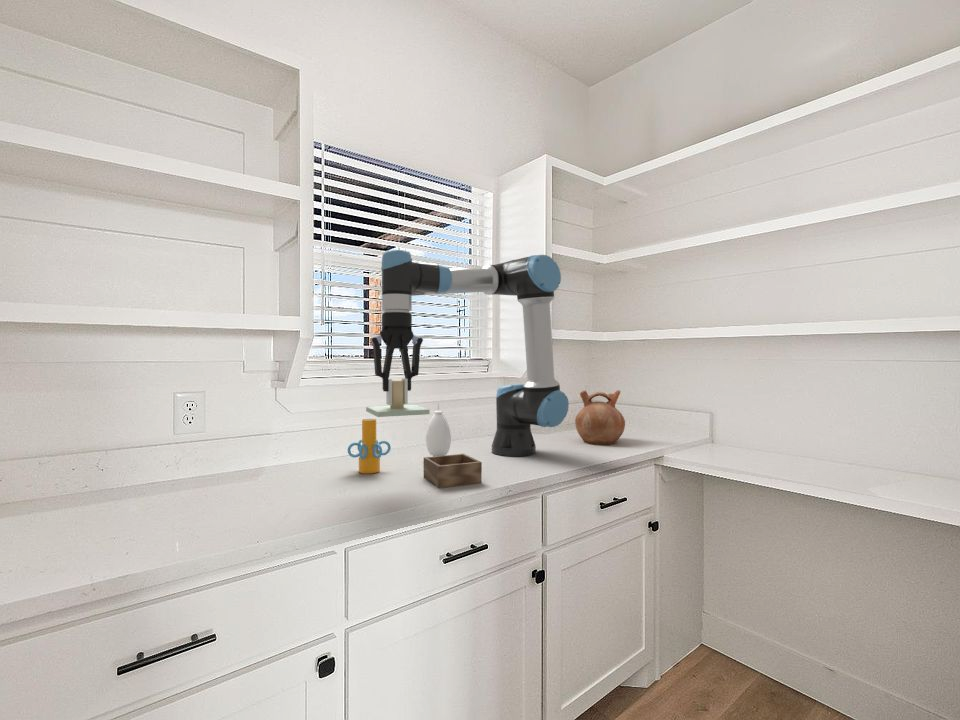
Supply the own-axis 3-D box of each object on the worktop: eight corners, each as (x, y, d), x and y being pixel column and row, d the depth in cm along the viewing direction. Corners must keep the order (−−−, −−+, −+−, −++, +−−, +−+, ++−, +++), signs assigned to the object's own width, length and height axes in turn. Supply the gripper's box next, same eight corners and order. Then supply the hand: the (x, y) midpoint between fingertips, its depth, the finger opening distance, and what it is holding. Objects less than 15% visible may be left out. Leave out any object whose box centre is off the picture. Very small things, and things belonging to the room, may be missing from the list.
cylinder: (378, 477, 138) (377, 423, 138) (342, 475, 140) (342, 422, 140) (394, 467, 150) (394, 417, 150) (361, 466, 152) (361, 416, 152)
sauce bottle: (441, 462, 157) (441, 404, 157) (421, 459, 161) (421, 403, 161) (455, 457, 164) (455, 402, 164) (435, 455, 168) (435, 401, 167)
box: (463, 472, 143) (463, 453, 143) (481, 482, 132) (481, 462, 132) (423, 477, 138) (423, 457, 138) (438, 488, 127) (438, 466, 127)
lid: (413, 408, 137) (413, 378, 137) (429, 414, 126) (429, 381, 125) (366, 411, 132) (366, 379, 132) (377, 417, 120) (377, 382, 120)
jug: (623, 439, 199) (623, 388, 198) (626, 447, 181) (626, 392, 181) (576, 437, 203) (576, 387, 202) (574, 445, 185) (574, 391, 185)
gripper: (422, 314, 135) (423, 401, 136) (361, 312, 128) (361, 404, 129) (432, 312, 128) (432, 404, 129) (367, 310, 121) (368, 407, 122)
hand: (397, 403), depth 129 cm, fingers closed on lid, 3 cm apart
